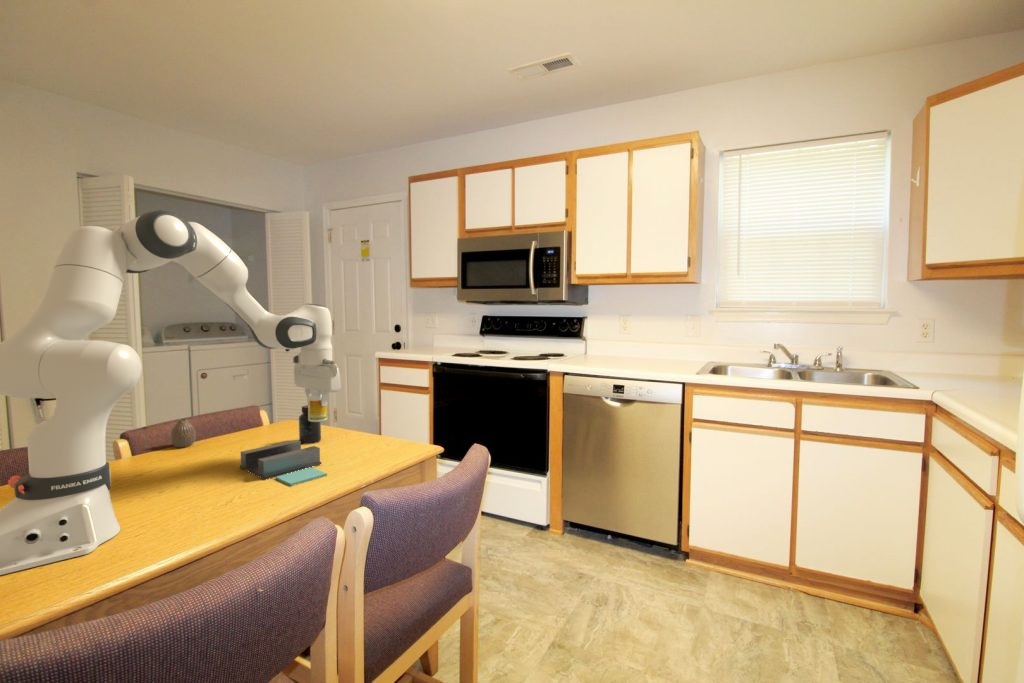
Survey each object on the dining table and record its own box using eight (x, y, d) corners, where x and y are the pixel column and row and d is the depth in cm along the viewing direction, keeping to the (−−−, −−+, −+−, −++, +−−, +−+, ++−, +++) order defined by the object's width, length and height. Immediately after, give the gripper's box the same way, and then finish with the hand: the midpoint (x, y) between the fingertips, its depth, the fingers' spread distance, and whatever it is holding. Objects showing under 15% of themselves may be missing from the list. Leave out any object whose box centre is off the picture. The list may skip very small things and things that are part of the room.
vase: (187, 449, 156) (186, 422, 155) (165, 449, 156) (164, 422, 155) (201, 443, 163) (200, 417, 162) (180, 443, 163) (179, 417, 162)
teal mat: (290, 486, 125) (290, 483, 125) (275, 479, 130) (275, 476, 130) (326, 475, 133) (326, 473, 133) (311, 469, 138) (311, 467, 137)
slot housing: (265, 479, 129) (264, 462, 129) (239, 468, 138) (239, 451, 138) (321, 464, 142) (321, 448, 141) (294, 454, 151) (294, 439, 150)
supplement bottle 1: (330, 420, 148) (330, 388, 147) (313, 423, 144) (312, 390, 143) (322, 417, 152) (321, 386, 151) (304, 420, 148) (304, 388, 147)
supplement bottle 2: (308, 437, 170) (307, 403, 169) (325, 439, 168) (324, 404, 167) (294, 443, 164) (293, 407, 163) (312, 444, 162) (311, 408, 161)
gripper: (346, 360, 143) (346, 407, 143) (309, 355, 155) (309, 399, 156) (326, 361, 138) (326, 410, 138) (289, 357, 150) (290, 401, 151)
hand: (317, 404), depth 147 cm, fingers closed on supplement bottle 1, 5 cm apart
